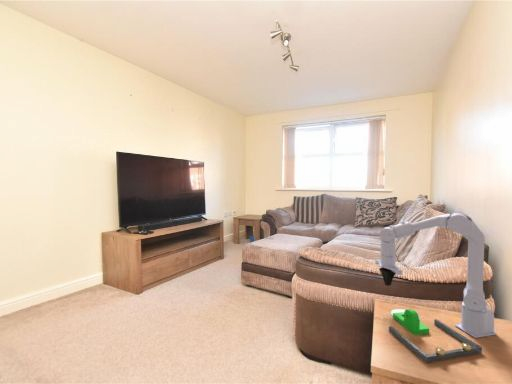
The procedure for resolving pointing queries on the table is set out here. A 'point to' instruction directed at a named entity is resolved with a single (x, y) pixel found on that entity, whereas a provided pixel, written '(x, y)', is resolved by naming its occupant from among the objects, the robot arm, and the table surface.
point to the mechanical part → (411, 321)
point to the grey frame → (440, 354)
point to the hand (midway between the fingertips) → (387, 284)
